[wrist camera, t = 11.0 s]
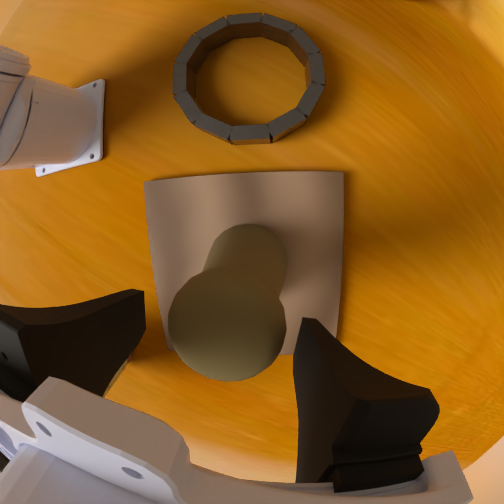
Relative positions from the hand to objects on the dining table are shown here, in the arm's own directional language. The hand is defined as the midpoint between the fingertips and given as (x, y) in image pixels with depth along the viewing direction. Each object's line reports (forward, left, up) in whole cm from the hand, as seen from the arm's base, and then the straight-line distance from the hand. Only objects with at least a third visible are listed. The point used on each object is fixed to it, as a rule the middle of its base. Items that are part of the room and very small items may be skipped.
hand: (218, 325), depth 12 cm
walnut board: (0, -1, -10) cm, 10 cm away
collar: (+1, +14, -10) cm, 18 cm away
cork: (0, 0, -10) cm, 10 cm away
